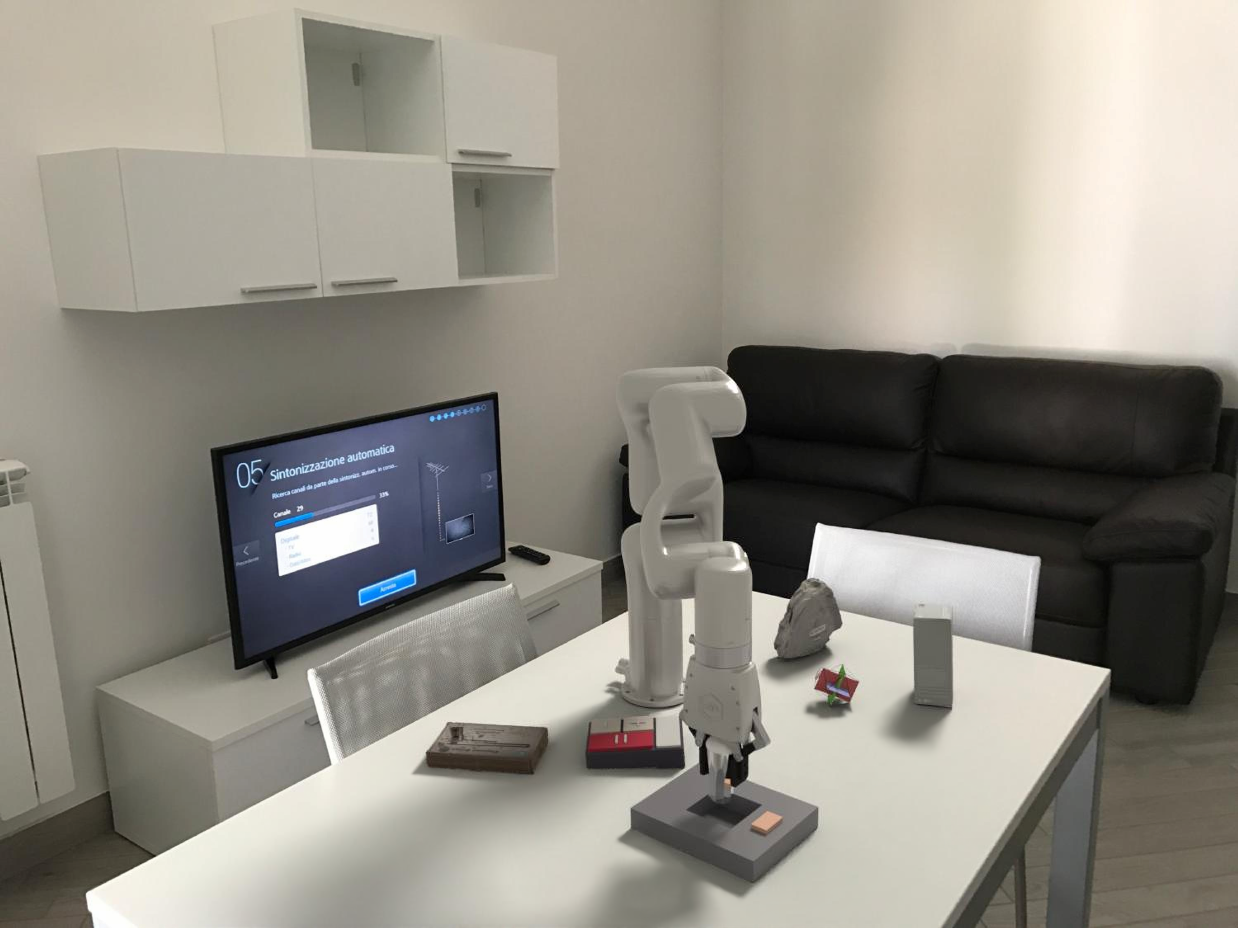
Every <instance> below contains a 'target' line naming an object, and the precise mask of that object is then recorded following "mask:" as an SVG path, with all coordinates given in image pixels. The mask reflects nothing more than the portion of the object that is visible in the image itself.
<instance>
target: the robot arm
mask: <svg viewBox="0 0 1238 928" xmlns="http://www.w3.org/2000/svg"><path fill="white" fill-rule="evenodd" d="M737 384H738V383H736V382H735V381H734V380H733V378H731V377H730V376H729V374H726V373H725V372H724V371H723V370H721V369H720V368H719V367H716V366H713V365H710V366H708V365H706V366H705V365H703V366H697V365H696V366H677V367H674V366H673V367H651V368H640V369H634V370H629V371H626V372H624V373H623V374H621V375H620V376H619V378H618V379H617V382H616V385H615V397H616V398H615V400H616V405H617V409H618V412H619V414H620V418H621V420H622V423H623V424H624V428H625V429H626V430H625V431H626V433H627V438H628V439H627V440H628V479H629V480H628V488H629V489H628V490H629V500H630V505H631V508H632V510H633V511H634V512H635V513H636V514H637V515H640V516H641V520H640V522H637V523H634V524H632V525H630V526H628V527H627V528H626V529H625V530H624V532H623V533H622V535H621V539H620V547H621V548H620V549H621V556H622V561H623V566H624V572H625V580H626V591H627V594H626V595H627V619H628V622H627V623H628V657H629V658H628V659H627V658H624V657H621V658H620V659H619V660H618V662H617V663H618V664H617V665H616V666H615V669H614V670H615V671H614V672H615V673H616V674H619V675H623V676H624V679H625V680H624V682H623V683H622V684H621V688H620V689H621V696H622V697H623V699H625V700H626V701H627V702H629V703H631V704H634V705H636V706H639V707H644V708H645V707H647V708H666V707H672V706H677V705H679V704H682V705H683V706H682V707H683V708H682V709H681V710H680V711H679V713H678V716H679V717H680V718H681V719H682V723H683V724H685V725H686V726H687V727H688V730H689V731H690V733H691V734H692V737H693V738H694V744H695V746H696V747H698V763H699V764H700V774H701V775H706V774H708V768H707V753H706V741H707V739H708V738H709V737H710V736H711V735H712V736H714V737H717V738H720V739H723V740H726V741H729V742H731V744H732V749H733V754H734V758H732V759H731V761H730V785H731V786H732V787H735V788H736V787H737V786H738V785H740V784H741V783H742V782H744V781H745V780H747V779H748V777H749V774H750V773H749V772H750V771H749V770H750V769H749V767H750V765H749V762H750V760H749V759H750V758H749V756H750V755H751V754H753V753H755V752H756V751H759V750H761V749H764V748H766V747H767V746H768V745H771V742H772V741H771V738H770V737H769V734H768V733H767V731H766V728H765V727H764V725H763V723H762V713H763V712H762V696H761V686H760V680H759V674H758V670H757V665H756V662H754V661H753V658H752V657H753V651H752V650H753V574H752V569H751V566H750V561H749V558H748V554H747V553H746V552H745V551H744V550H743V548H742V547H741V545H740V544H738V543H736V542H734V541H731V540H730V541H726V540H723V537H724V536H723V533H724V531H723V530H724V526H723V525H724V524H723V523H724V484H723V479H722V474H721V471H720V469H719V466H718V461H717V456H716V452H715V446H714V442H713V438H726V437H735V436H737V435H739V434H741V433H742V432H743V430H744V428H745V426H746V422H747V421H746V420H747V406H746V402H745V399H744V396H743V393H742V390H741V389H740V387H739V386H738V385H737ZM679 515H694V517H693V518H691V517H690V518H677V519H676V518H675V519H664V518H665V517H666V516H667V517H668V516H670V517H671V516H679ZM689 599H694V633H691V634H689V637H688V642H689V644H691V645H693V646H694V653H693V654H692V655H691V656H689V660H688V664H687V668H686V672H685V677H684V648H683V647H684V646H683V645H684V643H683V642H684V641H683V638H684V637H683V627H684V626H683V600H689ZM751 733H752V735H753V738H754V739H753V740H752V739H751Z"/></svg>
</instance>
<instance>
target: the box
mask: <svg viewBox="0 0 1238 928" xmlns="http://www.w3.org/2000/svg"><path fill="white" fill-rule="evenodd" d="M549 741H550V740H549V730H548V726H547V727H546V726H533V725H532V726H531V725H529V726H525V725H512V724H511V725H510V724H497V723H495V724H493V723H477V722H474V723H472V722H458V721H457V722H456V721H455V722H452V721H447V722H446V724H445V726H444V728H443V729H442V730H441V732H440V733H439V735H438V736H437V738H436V739H435V740H434V741H433V743H432V744H431V746H430V747H429V748H428V749H426V751H425V756H426V759H425V760H426V765H427V767H428V768H438V769H439V768H440V769H448V768H449V769H451V770H459V769H461V770H465V771H467V770H468V771H475V772H477V771H478V772H491V773H492V772H493V773H495V772H496V773H498V772H499V773H519V774H532V775H534V773H535V771H536V770H535V769H536V768H537V766H538V764H539V762H540V759H541V758H542V755H543V754H544V753H545V751H546V749H547V747H548V745H549Z"/></svg>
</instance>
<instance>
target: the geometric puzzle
mask: <svg viewBox="0 0 1238 928" xmlns="http://www.w3.org/2000/svg"><path fill="white" fill-rule="evenodd" d="M840 666H841V667H840ZM830 667H831V669H829V668H826V667H822V668H820V669H818V671H817V672H816V674H815V675H814V683H815V684H814V685H813V686H814V688H813V689H814V690H815V691H816V692H817V693H818V694H819V695H820V693H821V694H822V695H824V696H826V697H827V698H828V702H826V701H825V703H827V705H829V708H833V707H836V706H838V705H839V706H840V705H842V704H841V703H842V702H845V703H843V705H844V704H846V703H847V704H848V703H851V701H852V699H853V697H854V694H855V693H856V690H857V688H858V686H859V683H860V680H858V679H855V677H853V676H851V675H849V674H847V673H846V670H845V665H844V663H841V664H838V665H836V666H834V667H833V666H830ZM832 667H833V668H832ZM837 667H840V669H839V671H836V670H835V671H834V669H835V668H837ZM847 670H848V672H849V673H851V674H852V672H851V671H850V670H849V669H847ZM834 700H839V702H837V703H835V704H833V702H834Z"/></svg>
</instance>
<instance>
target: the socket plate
mask: <svg viewBox="0 0 1238 928" xmlns="http://www.w3.org/2000/svg"><path fill="white" fill-rule="evenodd" d="M629 809H630V810H629V811H630V828H631V829H633V830H634V831H637V832H640V833H641V834H644V835H647V836H648V837H651V838H653V839H655V840H657V841H659V842H662V843H664V844H666V845H668V846H669V847H670V846H671V847H673V848H675V849H678V850H680V851H681V852H684V853H687V854H689V855H691V856H693V857H696V858H697V859H700V860H701V861H704V862H707V863H708V864H710V865H713V866H716V867H717V868H720V869H722V870H723V871H727V872H728V873H731V874H733V875H736V876H738V877H740V878H742V879H745V880H746V881H749V882H751V883H755V882H756V881H758V879H760V878H761V877H762V876H763V875H764V874H766V873H767V872H768V871H769V870H770V869H771V868H773V866H774V865H776V864H777V863H778V862H779V861H781V860H782V859H783V858H784V857H785V856H786V855H787V854H788V853H790V851H792V850H793V849H794V848H796V846H798V845H799V844H800V843H801V842H802V841H804V840H805V839H806V838H807V837H808V836H809V835H810V834H811V833H813V832H815V830H816V829H818V827H819V806H817V805H814V804H813V803H809V802H806V801H804V800H801V799H798V798H795V797H793V796H790V795H788V794H785V793H783V792H780V791H777V790H774V789H771V788H769V787H766V786H764V785H761V784H759V783H756V782H753V781H750V780H747V779H746V780H745V781H744V782H742V783H741V784H740V785H738V786H737V787H736V788H735V787H734V793H733V799H732V800H731V801H730V802H729V803H725V804H718V803H715V802H713V801H711V800H710V798H709V791H708V774H706V775H701V774H700V764H699V762H698V763H696V764H695V765H693V766H691V767H690V768H688V769H687V770H685V771H683V772H682V773H681V774H680V775H678V776H677V777H675V778H674V779H672V780H671V781H668V783H666V784H665V785H663V786H661V787H660V788H658V789H657V790H655V791H654V792H652V793H651V794H649V795H648V796H646V797H645V798H643V799H642V800H640V801H639V802H637V803H636V804H634V805H633V806H632V807H630V808H629Z"/></svg>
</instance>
